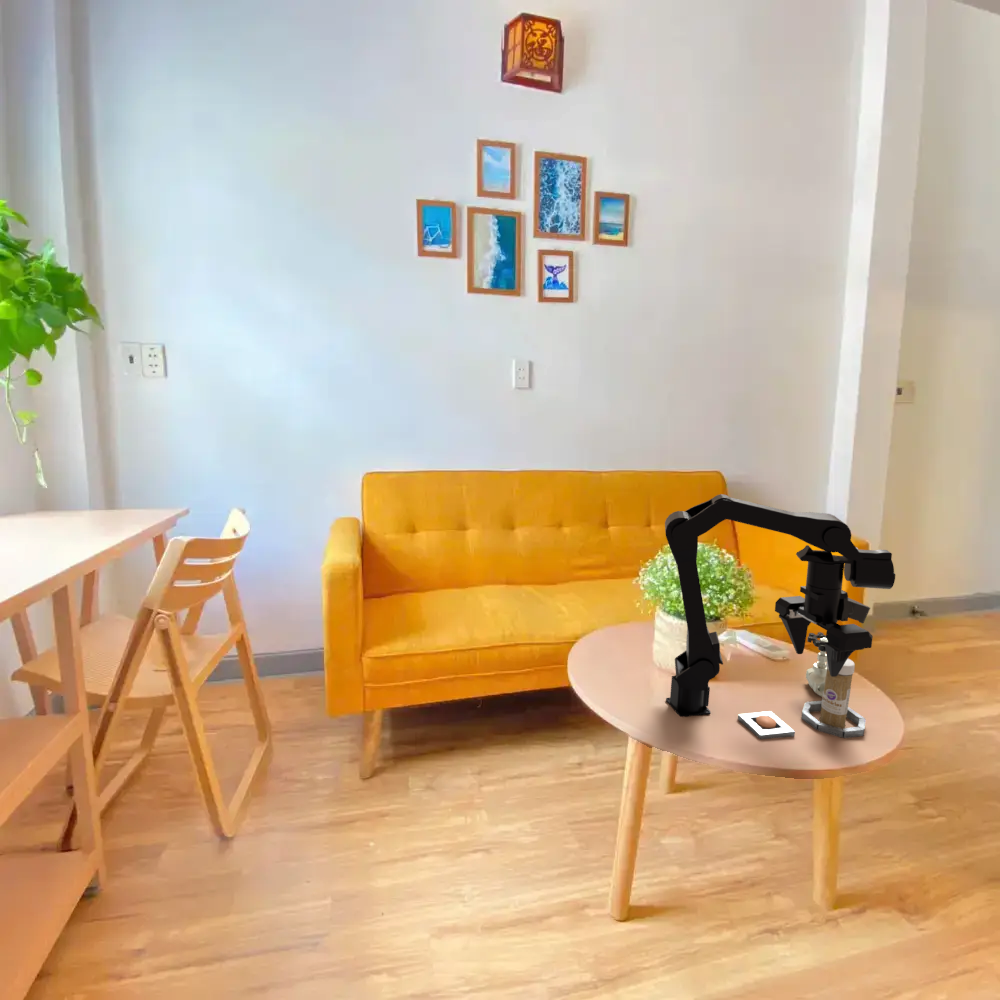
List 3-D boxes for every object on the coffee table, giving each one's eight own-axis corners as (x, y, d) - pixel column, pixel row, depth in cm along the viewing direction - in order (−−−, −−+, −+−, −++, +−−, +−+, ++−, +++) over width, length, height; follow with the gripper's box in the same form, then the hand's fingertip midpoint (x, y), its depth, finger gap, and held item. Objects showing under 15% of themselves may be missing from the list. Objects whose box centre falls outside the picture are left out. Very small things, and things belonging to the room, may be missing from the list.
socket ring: (828, 743, 109) (829, 733, 109) (790, 712, 119) (791, 703, 119) (877, 737, 111) (878, 727, 111) (836, 707, 121) (837, 698, 121)
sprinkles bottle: (816, 725, 115) (824, 660, 112) (822, 715, 118) (830, 652, 116) (842, 734, 112) (852, 668, 109) (848, 724, 115) (857, 659, 113)
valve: (806, 696, 125) (812, 643, 123) (797, 681, 132) (803, 630, 129) (840, 700, 124) (847, 646, 122) (829, 684, 130) (836, 633, 128)
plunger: (762, 737, 110) (763, 726, 110) (751, 727, 114) (752, 716, 113) (778, 735, 111) (780, 724, 110) (767, 725, 114) (768, 714, 114)
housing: (759, 745, 108) (760, 735, 108) (737, 723, 115) (738, 714, 115) (793, 741, 110) (795, 731, 109) (769, 720, 116) (770, 710, 116)
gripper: (905, 599, 100) (894, 684, 103) (827, 566, 118) (819, 640, 121) (846, 604, 98) (837, 691, 101) (776, 570, 117) (770, 644, 120)
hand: (816, 664), depth 111 cm, fingers open, 9 cm apart
